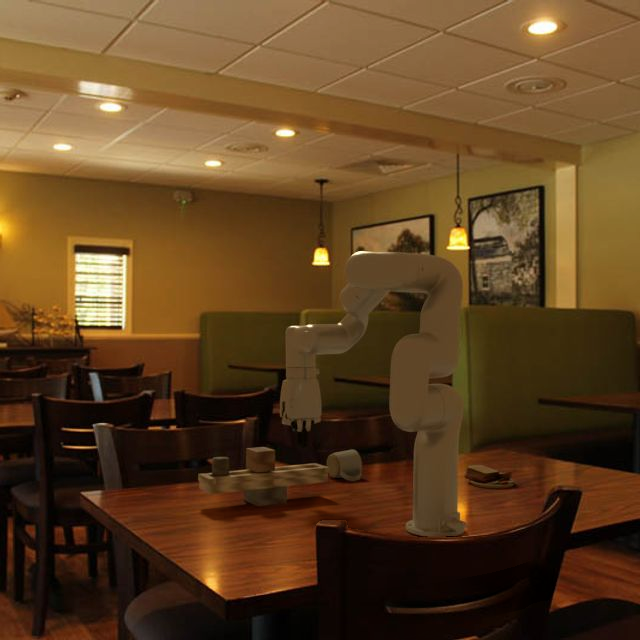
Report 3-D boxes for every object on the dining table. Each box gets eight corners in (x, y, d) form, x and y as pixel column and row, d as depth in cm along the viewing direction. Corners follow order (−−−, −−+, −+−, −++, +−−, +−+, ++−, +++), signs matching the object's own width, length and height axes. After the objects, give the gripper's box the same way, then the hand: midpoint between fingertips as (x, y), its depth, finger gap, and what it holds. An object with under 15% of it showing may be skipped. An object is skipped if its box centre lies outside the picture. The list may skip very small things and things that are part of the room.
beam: (313, 491, 213) (314, 447, 213) (329, 497, 206) (330, 452, 206) (197, 505, 196) (197, 457, 196) (210, 512, 189) (210, 462, 189)
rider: (263, 473, 204) (264, 446, 204) (274, 478, 199) (275, 450, 199) (245, 475, 202) (246, 448, 202) (256, 479, 196) (256, 451, 196)
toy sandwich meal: (494, 491, 216) (494, 474, 216) (457, 483, 227) (457, 466, 227) (524, 486, 224) (524, 469, 224) (486, 478, 235) (487, 462, 235)
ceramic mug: (324, 476, 234) (324, 449, 234) (348, 473, 238) (348, 447, 238) (344, 483, 225) (345, 455, 225) (368, 480, 229) (369, 453, 229)
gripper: (318, 372, 213) (319, 443, 212) (267, 374, 205) (268, 447, 205) (333, 373, 206) (334, 446, 206) (281, 375, 199) (282, 450, 198)
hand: (301, 446), depth 205 cm, fingers closed
